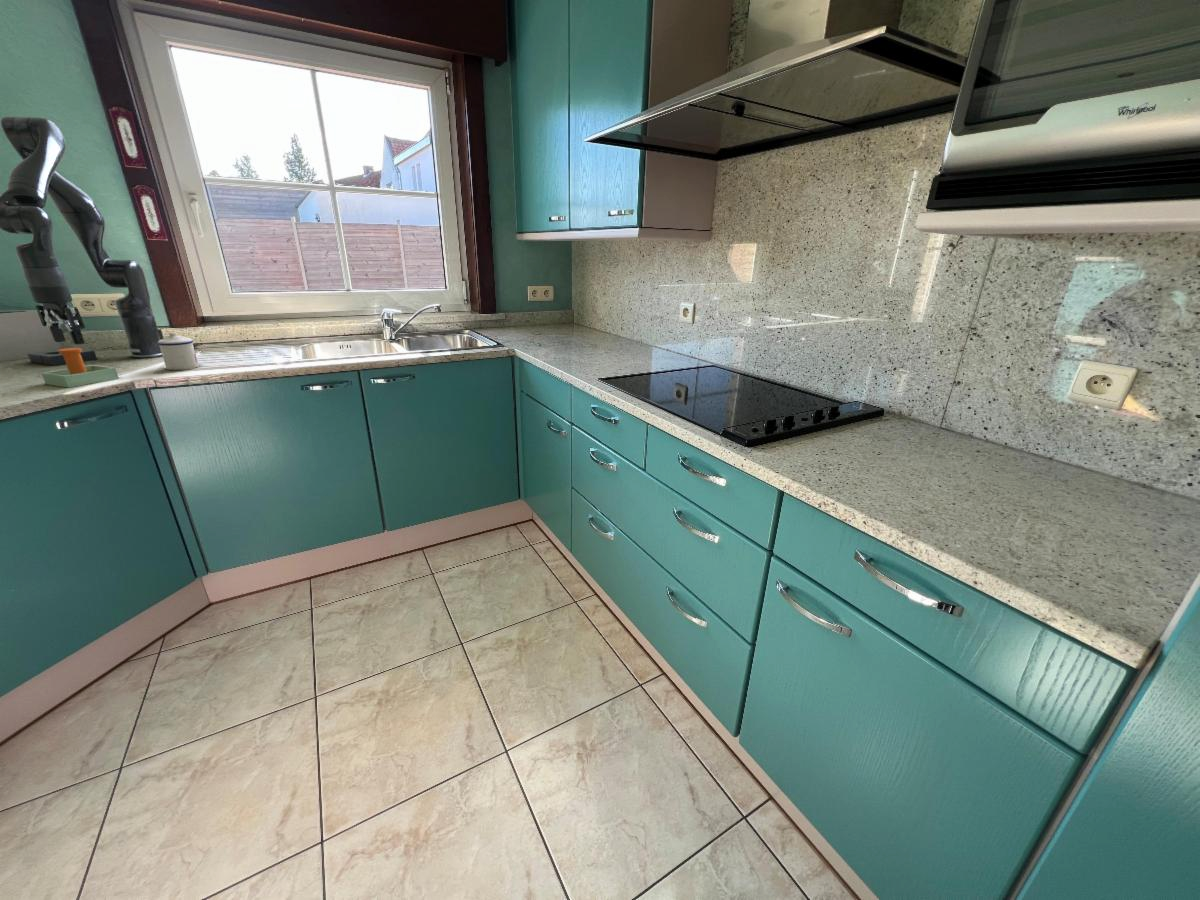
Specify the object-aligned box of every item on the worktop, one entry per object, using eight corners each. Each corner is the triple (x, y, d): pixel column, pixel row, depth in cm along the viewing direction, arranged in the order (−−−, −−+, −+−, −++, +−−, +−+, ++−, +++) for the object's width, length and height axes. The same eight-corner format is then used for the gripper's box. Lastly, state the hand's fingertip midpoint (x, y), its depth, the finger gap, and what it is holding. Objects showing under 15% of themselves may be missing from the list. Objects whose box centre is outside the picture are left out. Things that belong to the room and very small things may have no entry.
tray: (96, 375, 153) (93, 364, 152) (118, 378, 151) (115, 367, 149) (45, 384, 143) (41, 372, 141) (68, 387, 140) (64, 376, 139)
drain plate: (75, 356, 177) (72, 347, 176) (97, 359, 174) (94, 350, 173) (30, 362, 166) (26, 353, 165) (52, 365, 163) (49, 356, 162)
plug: (85, 376, 149) (74, 347, 145) (96, 377, 147) (85, 348, 144) (65, 379, 144) (53, 349, 141) (76, 381, 143) (64, 351, 140)
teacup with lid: (205, 366, 168) (196, 332, 164) (175, 371, 160) (164, 335, 156) (185, 362, 173) (175, 329, 168) (154, 367, 165) (143, 332, 161)
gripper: (81, 285, 138) (102, 342, 144) (48, 282, 142) (70, 338, 148) (46, 286, 131) (69, 347, 137) (13, 283, 135) (37, 342, 141)
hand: (70, 342), depth 143 cm, fingers open, 8 cm apart
